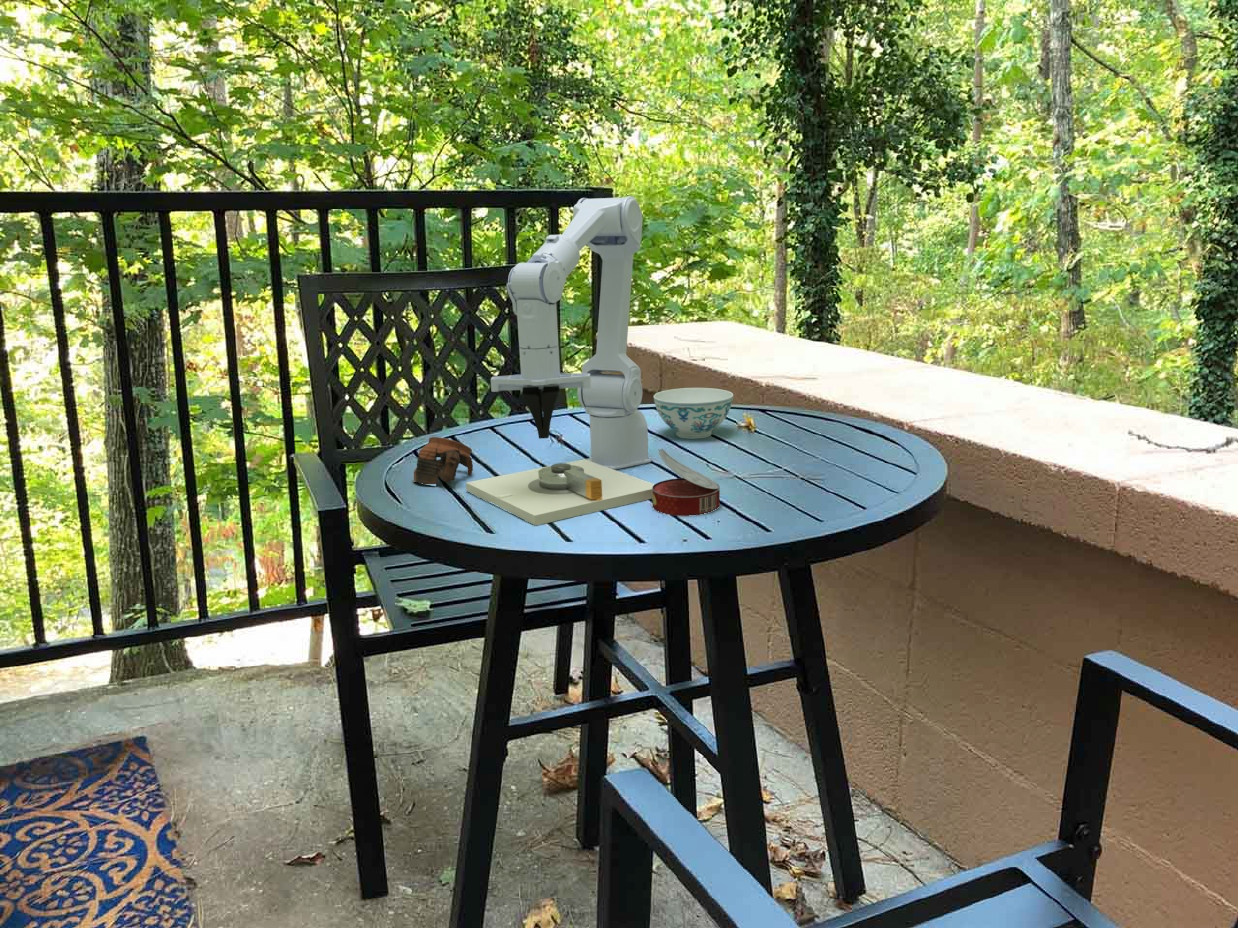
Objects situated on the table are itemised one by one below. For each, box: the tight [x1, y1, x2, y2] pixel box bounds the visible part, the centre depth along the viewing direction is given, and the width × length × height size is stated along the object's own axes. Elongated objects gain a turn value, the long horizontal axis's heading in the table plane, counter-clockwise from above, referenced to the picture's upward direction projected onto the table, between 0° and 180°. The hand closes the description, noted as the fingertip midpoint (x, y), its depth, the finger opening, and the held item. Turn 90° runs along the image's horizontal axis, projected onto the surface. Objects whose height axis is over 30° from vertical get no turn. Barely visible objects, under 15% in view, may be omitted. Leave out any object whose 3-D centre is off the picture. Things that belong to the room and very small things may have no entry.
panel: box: [465, 458, 656, 526], centre depth 152 cm, size 22×22×2 cm
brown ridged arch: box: [413, 436, 474, 485], centre depth 161 cm, size 12×10×8 cm
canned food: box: [652, 448, 721, 517], centre depth 144 cm, size 11×10×10 cm
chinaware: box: [653, 387, 734, 440], centre depth 187 cm, size 15×15×8 cm
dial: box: [538, 462, 602, 499], centre depth 148 cm, size 14×7×3 cm, turn 32°
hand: (544, 436), depth 147 cm, fingers closed
